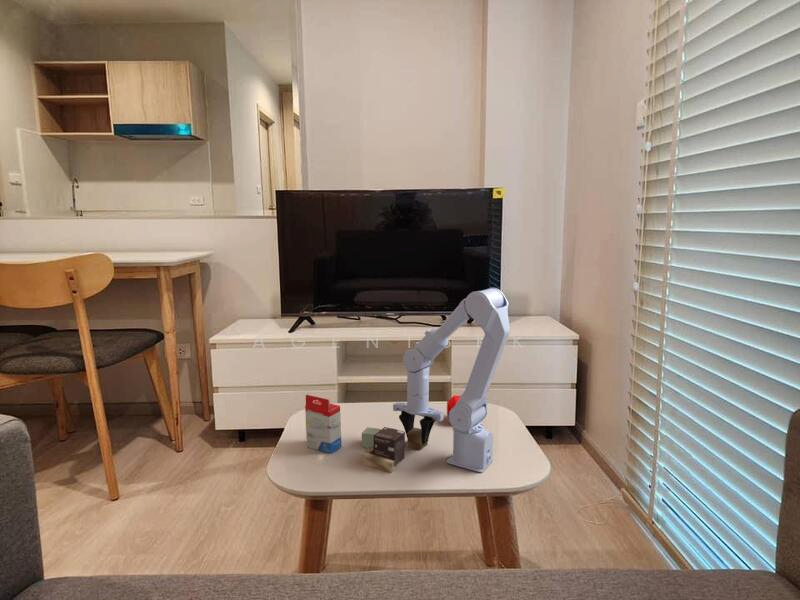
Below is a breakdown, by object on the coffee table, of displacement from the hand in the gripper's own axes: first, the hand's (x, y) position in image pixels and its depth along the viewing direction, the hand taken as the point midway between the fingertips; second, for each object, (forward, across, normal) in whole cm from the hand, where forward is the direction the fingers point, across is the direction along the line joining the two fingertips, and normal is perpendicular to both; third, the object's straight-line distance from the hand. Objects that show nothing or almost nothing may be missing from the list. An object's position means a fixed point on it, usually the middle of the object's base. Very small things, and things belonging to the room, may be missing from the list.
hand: (417, 440), depth 128 cm
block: (+2, +11, +6) cm, 13 cm away
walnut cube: (+1, 0, 0) cm, 1 cm away
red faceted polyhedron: (+2, -3, -21) cm, 21 cm away
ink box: (+2, +21, +14) cm, 25 cm away
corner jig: (+1, +2, +11) cm, 11 cm away
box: (+2, +2, +11) cm, 11 cm away
